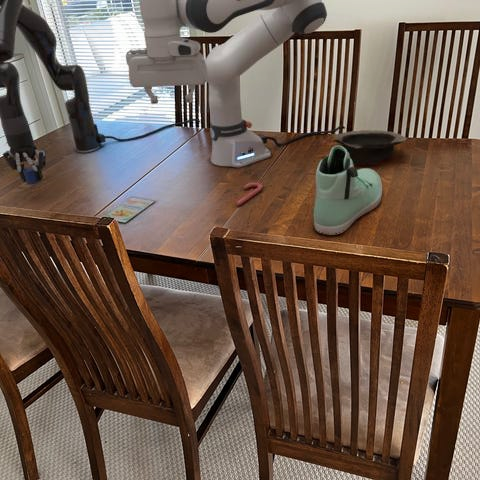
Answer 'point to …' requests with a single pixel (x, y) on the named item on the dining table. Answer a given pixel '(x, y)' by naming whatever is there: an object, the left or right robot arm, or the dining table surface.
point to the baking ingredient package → (129, 209)
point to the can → (30, 175)
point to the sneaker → (343, 192)
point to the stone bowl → (369, 145)
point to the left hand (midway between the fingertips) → (33, 180)
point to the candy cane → (250, 192)
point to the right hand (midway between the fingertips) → (172, 102)
